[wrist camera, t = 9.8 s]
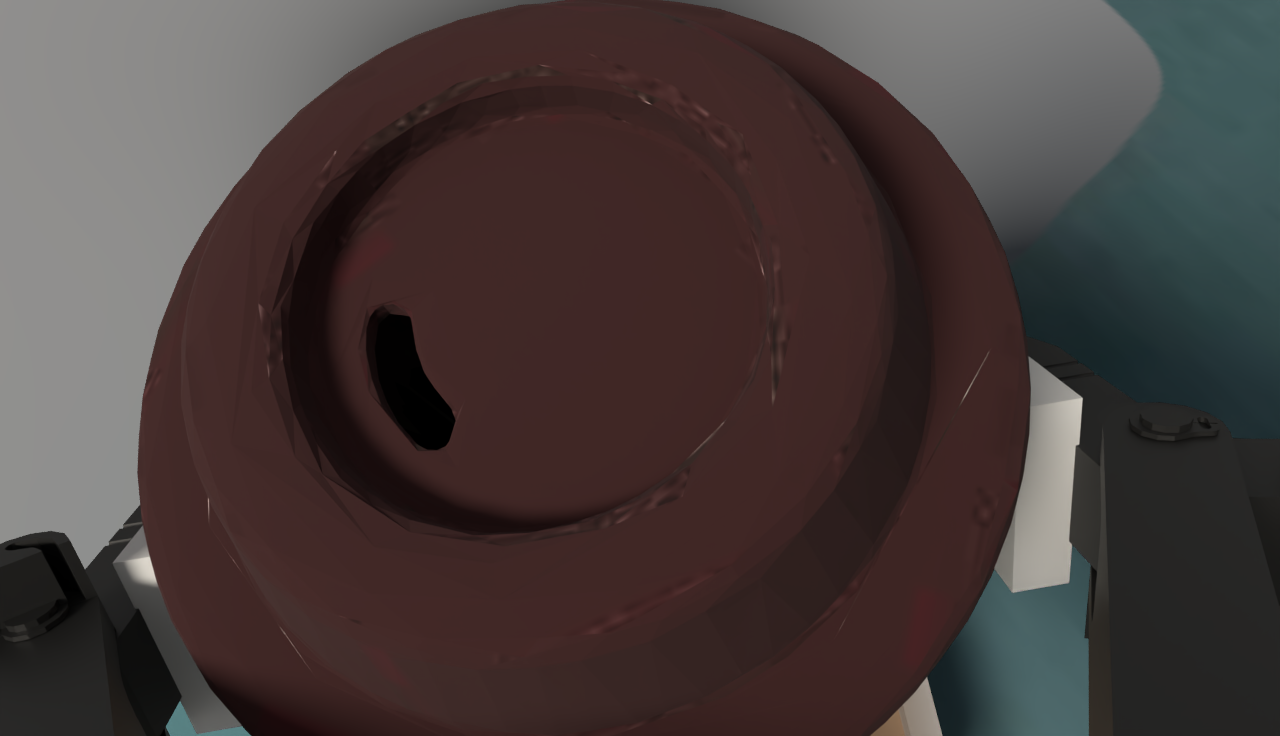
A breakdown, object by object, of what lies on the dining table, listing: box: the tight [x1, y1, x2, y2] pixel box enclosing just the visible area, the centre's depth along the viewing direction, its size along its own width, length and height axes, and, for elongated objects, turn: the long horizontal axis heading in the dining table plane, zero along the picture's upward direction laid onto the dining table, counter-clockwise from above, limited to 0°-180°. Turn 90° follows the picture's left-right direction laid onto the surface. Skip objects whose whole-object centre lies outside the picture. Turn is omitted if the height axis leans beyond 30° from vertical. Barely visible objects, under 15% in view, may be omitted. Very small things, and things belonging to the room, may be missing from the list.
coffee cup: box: [138, 0, 1031, 736], centre depth 15 cm, size 10×10×15 cm
